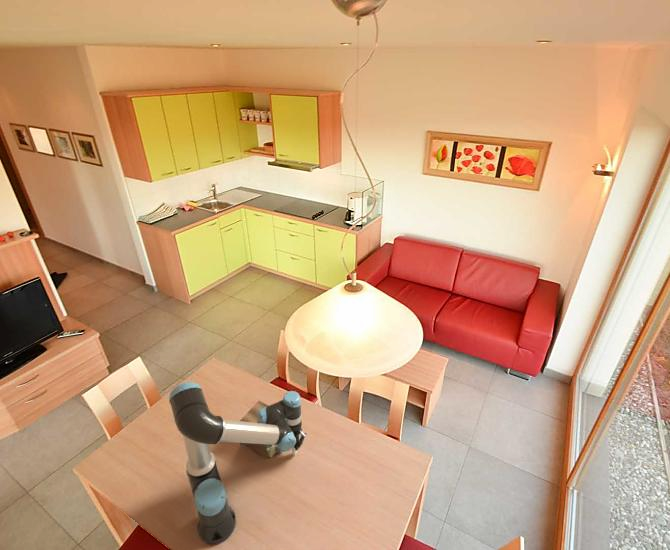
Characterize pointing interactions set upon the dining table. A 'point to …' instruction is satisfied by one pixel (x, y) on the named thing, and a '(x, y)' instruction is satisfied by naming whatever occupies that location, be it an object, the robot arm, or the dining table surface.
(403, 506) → the dining table surface
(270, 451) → the tray
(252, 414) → the cubby
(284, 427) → the robot arm
